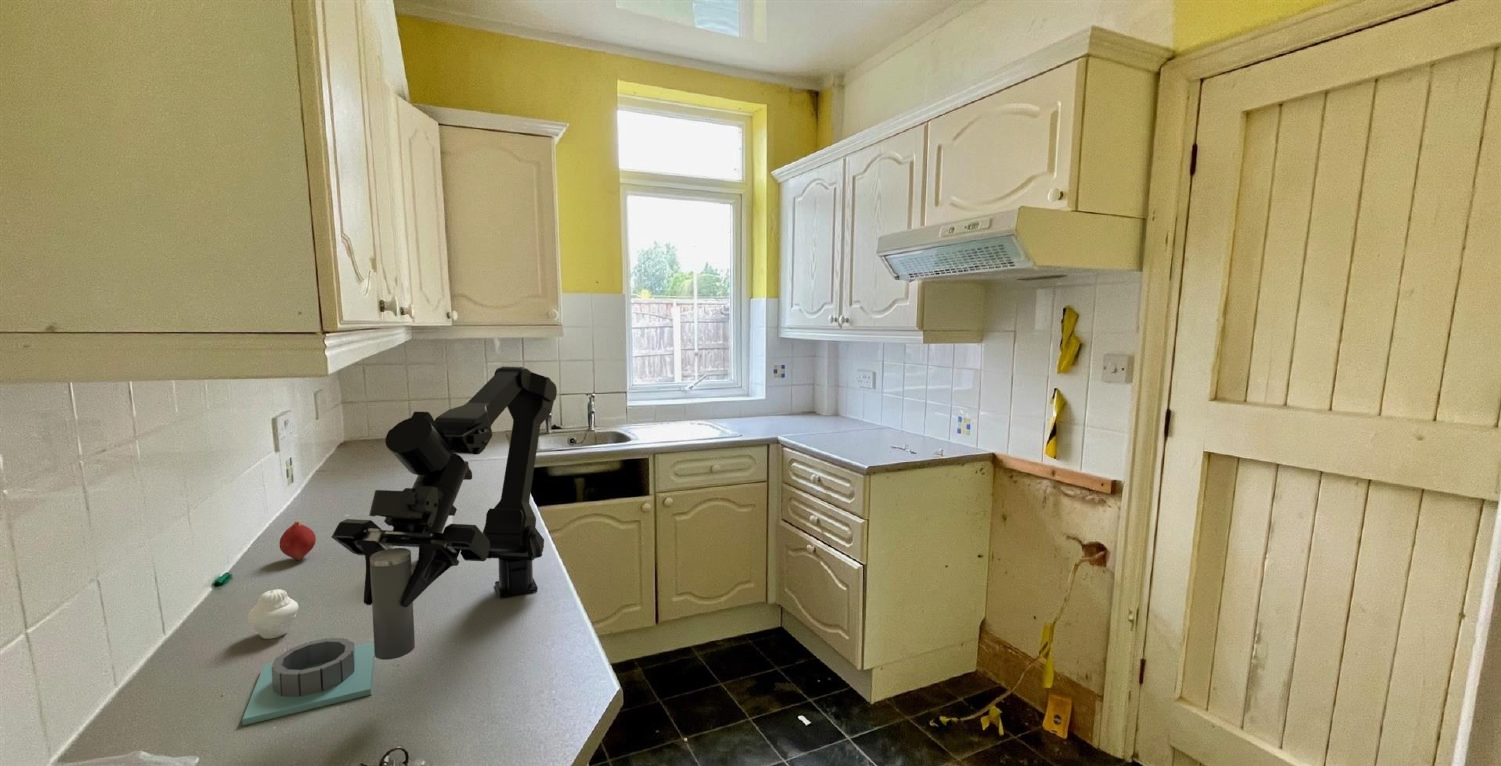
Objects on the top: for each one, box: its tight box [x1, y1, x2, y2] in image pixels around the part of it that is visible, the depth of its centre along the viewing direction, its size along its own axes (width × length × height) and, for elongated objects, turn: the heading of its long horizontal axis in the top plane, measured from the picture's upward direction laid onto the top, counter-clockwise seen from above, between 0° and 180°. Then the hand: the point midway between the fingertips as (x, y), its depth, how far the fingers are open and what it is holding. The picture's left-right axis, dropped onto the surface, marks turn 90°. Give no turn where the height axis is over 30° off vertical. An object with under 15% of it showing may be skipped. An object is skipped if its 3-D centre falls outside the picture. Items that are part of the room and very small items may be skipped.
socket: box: [242, 637, 375, 726], centre depth 82 cm, size 13×13×4 cm
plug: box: [370, 547, 416, 661], centre depth 77 cm, size 4×4×12 cm
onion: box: [279, 520, 317, 561], centre depth 122 cm, size 6×6×8 cm
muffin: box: [247, 588, 299, 640], centre depth 94 cm, size 6×6×7 cm
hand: (385, 605), depth 75 cm, fingers closed on plug, 4 cm apart
